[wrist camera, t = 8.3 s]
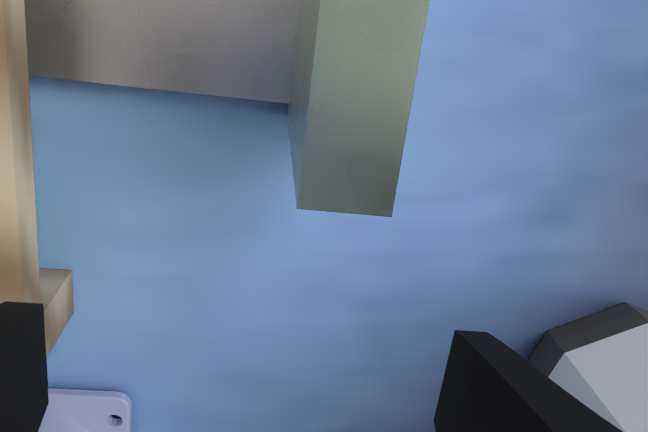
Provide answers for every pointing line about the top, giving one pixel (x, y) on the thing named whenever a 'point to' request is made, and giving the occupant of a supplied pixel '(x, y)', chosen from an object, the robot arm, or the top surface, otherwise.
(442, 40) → the top surface
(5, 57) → the oak shelf
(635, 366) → the wine bottle
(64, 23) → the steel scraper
